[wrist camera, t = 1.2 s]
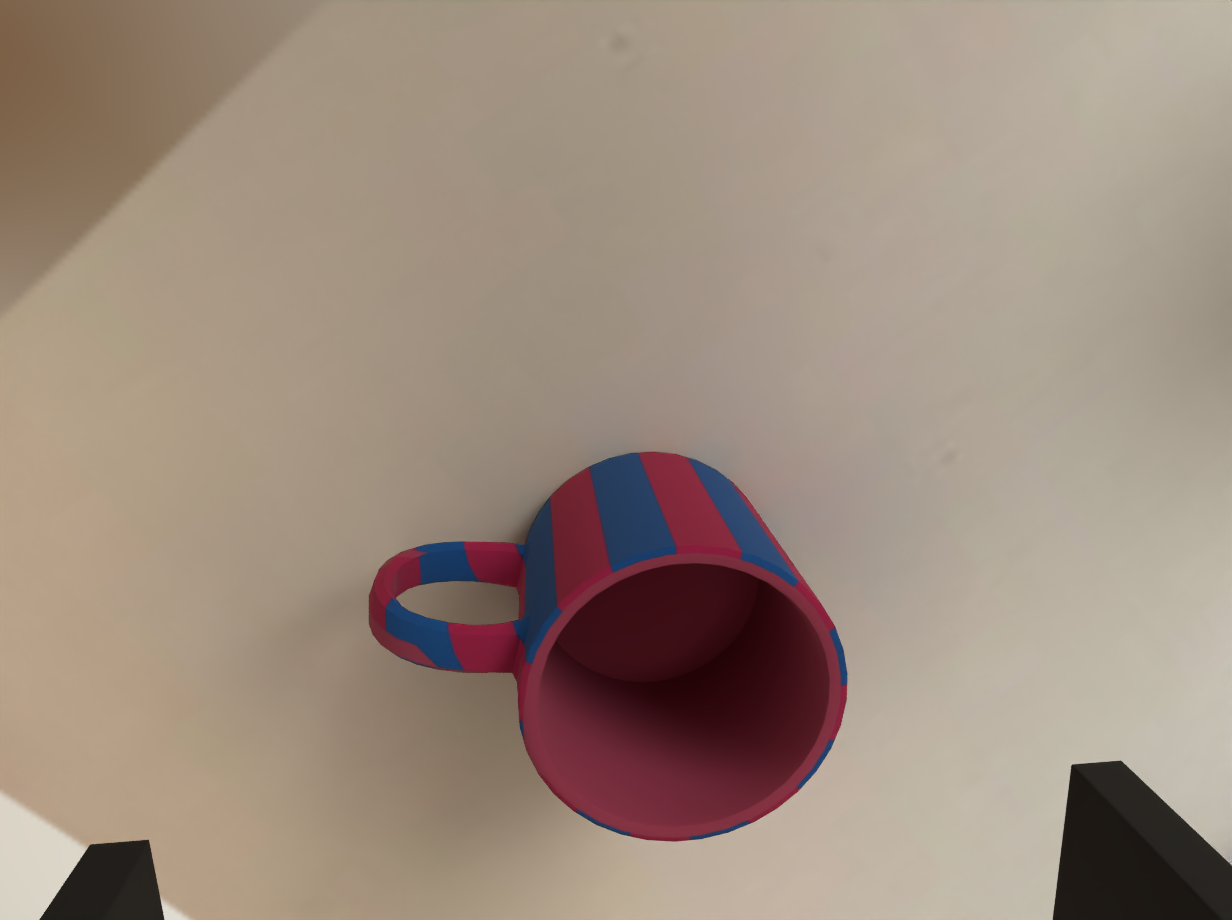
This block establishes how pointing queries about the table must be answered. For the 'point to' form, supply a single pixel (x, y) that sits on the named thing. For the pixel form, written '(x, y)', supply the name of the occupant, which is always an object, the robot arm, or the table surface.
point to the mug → (644, 648)
